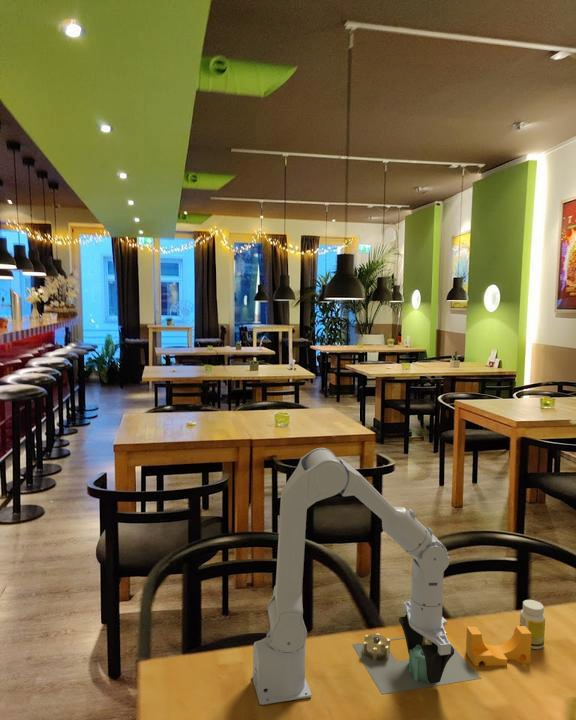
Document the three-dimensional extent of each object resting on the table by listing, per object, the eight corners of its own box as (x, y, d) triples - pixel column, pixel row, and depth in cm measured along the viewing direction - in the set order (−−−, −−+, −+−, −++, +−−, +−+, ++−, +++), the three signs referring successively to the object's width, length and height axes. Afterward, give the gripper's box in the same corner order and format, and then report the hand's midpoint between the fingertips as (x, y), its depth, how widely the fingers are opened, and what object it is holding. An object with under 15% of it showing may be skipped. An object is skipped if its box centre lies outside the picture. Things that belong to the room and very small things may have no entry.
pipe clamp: (474, 671, 104) (475, 639, 103) (465, 657, 108) (466, 626, 108) (534, 670, 104) (536, 638, 104) (523, 656, 109) (525, 626, 108)
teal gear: (418, 685, 98) (419, 663, 97) (404, 666, 103) (405, 645, 103) (442, 681, 99) (443, 659, 99) (428, 662, 104) (429, 642, 104)
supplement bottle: (548, 644, 112) (550, 606, 112) (535, 652, 110) (537, 613, 109) (527, 633, 116) (529, 596, 116) (514, 640, 114) (516, 602, 113)
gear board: (381, 699, 95) (382, 678, 95) (351, 648, 110) (352, 630, 109) (481, 683, 100) (482, 662, 100) (439, 636, 115) (440, 618, 114)
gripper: (467, 617, 94) (464, 690, 95) (427, 578, 108) (424, 642, 109) (431, 622, 92) (428, 697, 93) (394, 581, 106) (392, 647, 107)
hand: (423, 668), depth 101 cm, fingers open, 7 cm apart
